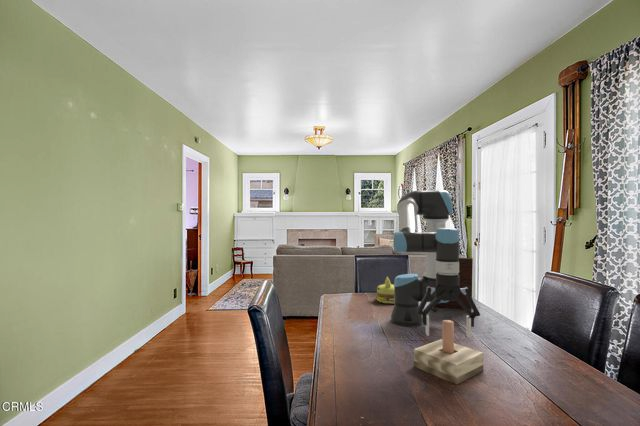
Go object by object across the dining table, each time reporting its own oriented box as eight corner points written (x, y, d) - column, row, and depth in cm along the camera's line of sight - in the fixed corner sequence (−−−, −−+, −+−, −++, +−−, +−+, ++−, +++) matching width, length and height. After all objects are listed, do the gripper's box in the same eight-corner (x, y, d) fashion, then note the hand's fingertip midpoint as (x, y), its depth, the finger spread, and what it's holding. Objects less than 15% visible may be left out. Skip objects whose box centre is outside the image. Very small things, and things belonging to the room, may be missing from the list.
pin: (440, 362, 115) (440, 321, 116) (446, 359, 117) (446, 319, 118) (450, 366, 112) (449, 323, 113) (456, 363, 115) (455, 321, 115)
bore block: (414, 366, 117) (414, 349, 117) (441, 355, 126) (441, 339, 126) (456, 384, 104) (456, 365, 104) (483, 370, 113) (483, 352, 114)
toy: (375, 298, 216) (375, 275, 216) (399, 299, 214) (399, 275, 215) (376, 304, 201) (376, 279, 201) (403, 305, 199) (403, 279, 199)
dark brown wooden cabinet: (471, 310, 188) (470, 256, 189) (473, 315, 178) (472, 258, 179) (431, 307, 195) (431, 255, 196) (431, 311, 185) (431, 257, 186)
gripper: (411, 274, 114) (411, 337, 114) (490, 276, 110) (490, 341, 110) (408, 270, 121) (409, 329, 121) (482, 272, 118) (482, 333, 118)
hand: (447, 335), depth 116 cm, fingers open, 13 cm apart
